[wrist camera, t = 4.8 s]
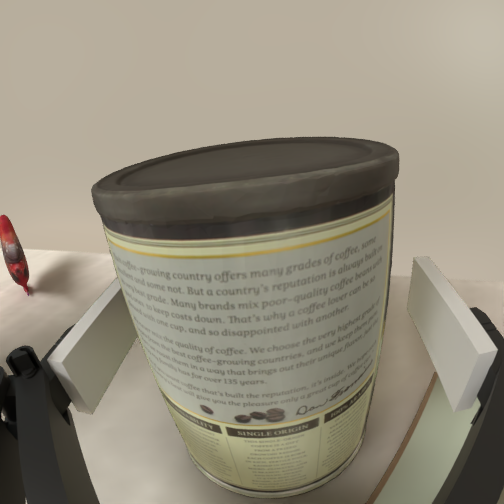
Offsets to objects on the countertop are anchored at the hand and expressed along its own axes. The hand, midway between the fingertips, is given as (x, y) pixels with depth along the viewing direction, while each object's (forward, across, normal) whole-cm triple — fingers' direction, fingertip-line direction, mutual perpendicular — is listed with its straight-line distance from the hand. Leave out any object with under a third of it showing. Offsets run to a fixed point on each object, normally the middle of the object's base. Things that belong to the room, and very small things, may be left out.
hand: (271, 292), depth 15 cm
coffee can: (-1, 0, -8) cm, 8 cm away
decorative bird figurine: (+12, -31, -8) cm, 34 cm away
